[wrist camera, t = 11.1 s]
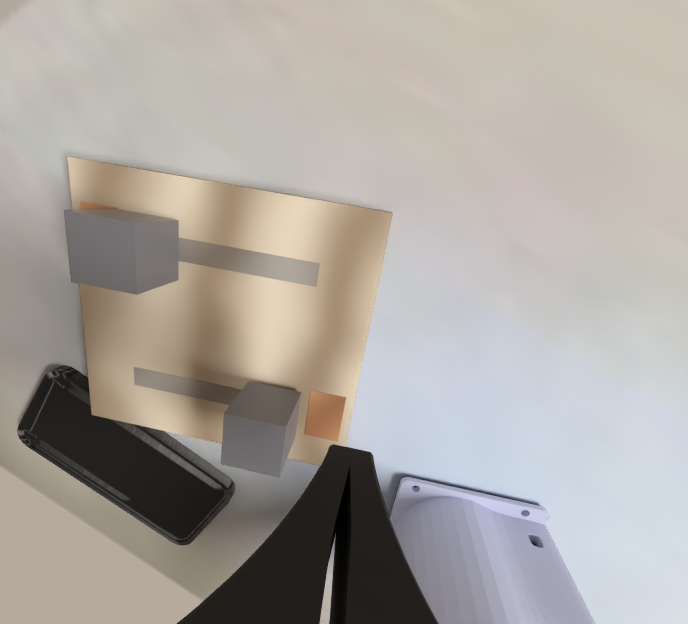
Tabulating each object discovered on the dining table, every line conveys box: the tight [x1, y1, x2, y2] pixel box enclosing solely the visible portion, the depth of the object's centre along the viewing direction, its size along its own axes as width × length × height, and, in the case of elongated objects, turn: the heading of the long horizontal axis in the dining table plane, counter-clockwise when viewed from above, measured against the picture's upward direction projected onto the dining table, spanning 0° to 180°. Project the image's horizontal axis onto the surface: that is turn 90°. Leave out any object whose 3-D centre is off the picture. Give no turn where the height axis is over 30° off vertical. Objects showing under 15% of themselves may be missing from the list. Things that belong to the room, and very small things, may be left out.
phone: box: [17, 366, 235, 545], centre depth 24 cm, size 8×1×15 cm
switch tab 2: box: [221, 381, 302, 477], centre depth 17 cm, size 3×3×3 cm
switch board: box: [67, 157, 393, 466], centre depth 19 cm, size 16×15×2 cm
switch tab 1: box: [64, 210, 179, 295], centre depth 15 cm, size 3×3×3 cm
